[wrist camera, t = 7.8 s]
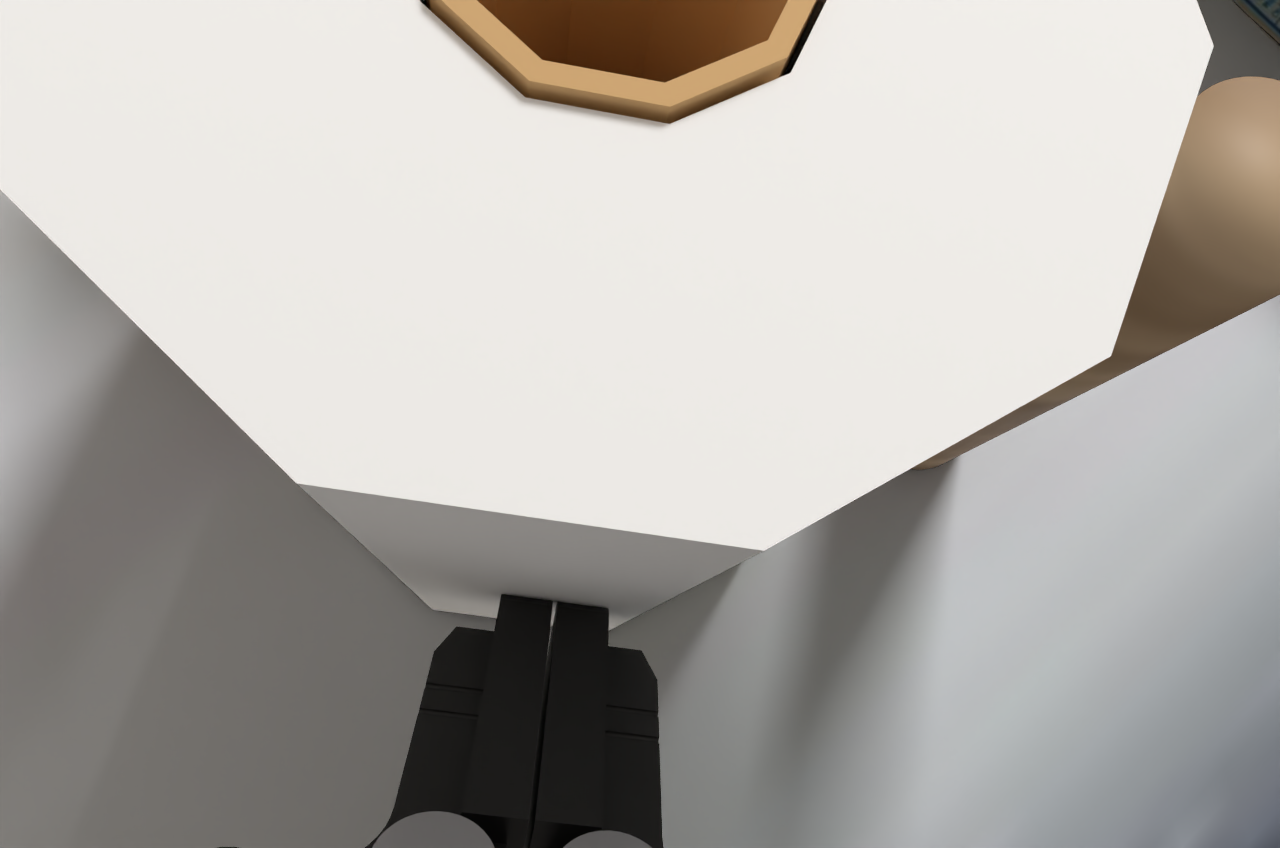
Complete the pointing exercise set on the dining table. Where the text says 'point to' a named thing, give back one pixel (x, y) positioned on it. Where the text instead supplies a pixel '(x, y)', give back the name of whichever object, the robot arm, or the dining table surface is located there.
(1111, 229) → the toilet paper
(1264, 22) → the beverage carton
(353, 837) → the dining table surface
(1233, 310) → the peg cradle
